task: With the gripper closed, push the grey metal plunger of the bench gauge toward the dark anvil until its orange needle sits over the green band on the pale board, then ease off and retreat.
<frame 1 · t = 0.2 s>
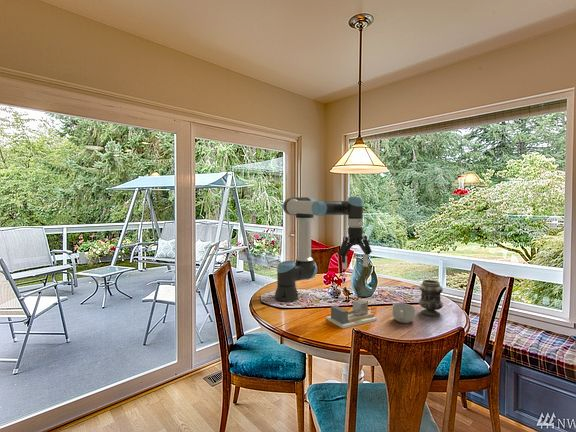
hand: (355, 267, 159), 27 cm above the table, fingers open, 13 cm apart
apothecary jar: (430, 313, 169), on the table
teacup: (402, 322, 158), on the table
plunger: (362, 309, 162), point 5 cm above the table, slide at 0.0 cm
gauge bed: (351, 319, 161), on the table
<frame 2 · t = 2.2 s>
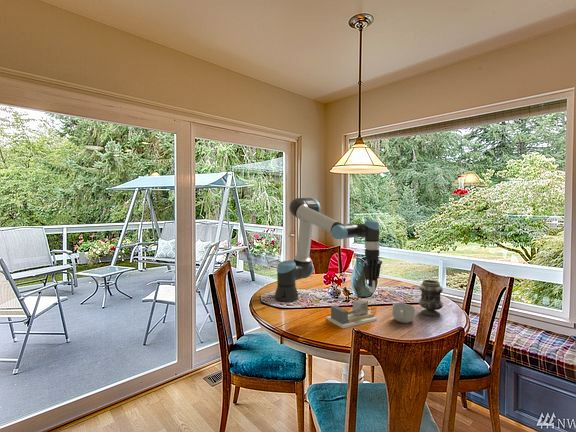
hand: (372, 292, 167), 13 cm above the table, fingers closed
nothing on the table moved.
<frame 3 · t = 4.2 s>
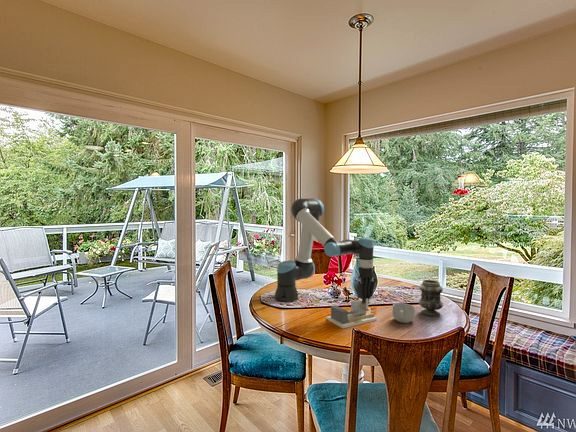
hand: (365, 310, 165), 3 cm above the table, fingers closed
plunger: (361, 309, 161), point 5 cm above the table, slide at 1.2 cm, touching gripper
everything else where it was.
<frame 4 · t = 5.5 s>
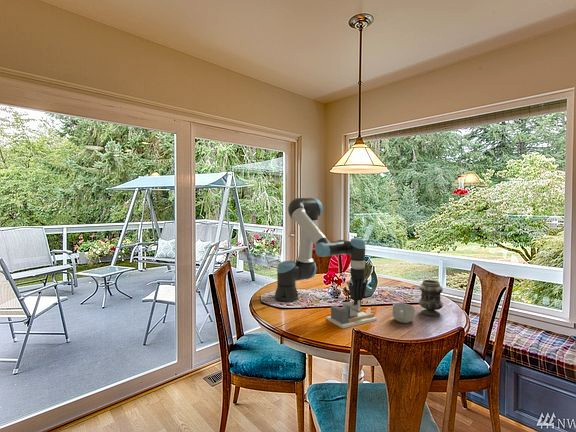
hand: (357, 311, 163), 3 cm above the table, fingers closed
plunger: (352, 311, 158), point 5 cm above the table, slide at 6.9 cm, touching gripper
everything else where it was.
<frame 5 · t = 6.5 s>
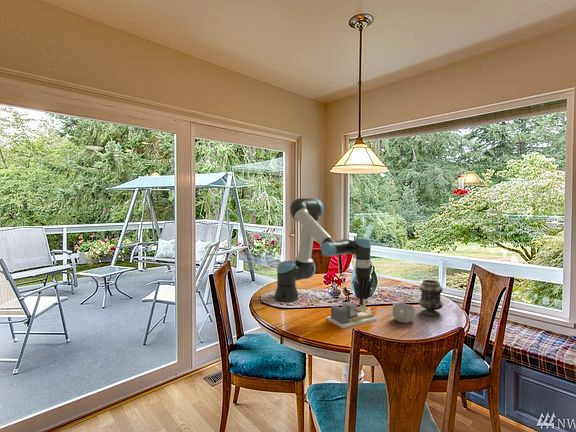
hand: (362, 310, 164), 4 cm above the table, fingers closed
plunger: (352, 311, 158), point 5 cm above the table, slide at 6.9 cm
everything else where it was.
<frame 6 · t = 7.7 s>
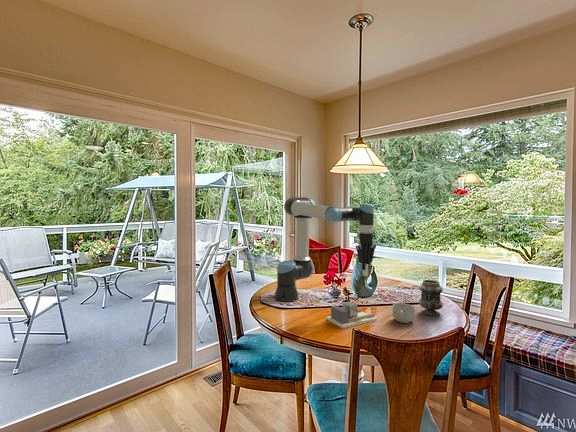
hand: (365, 275, 168), 21 cm above the table, fingers closed
nothing on the table moved.
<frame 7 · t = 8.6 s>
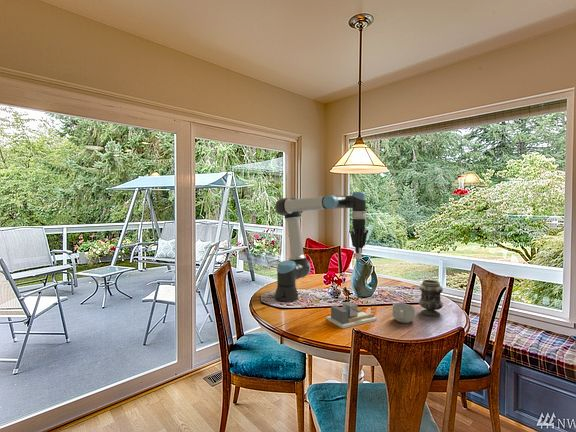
hand: (358, 258, 180), 28 cm above the table, fingers closed
nothing on the table moved.
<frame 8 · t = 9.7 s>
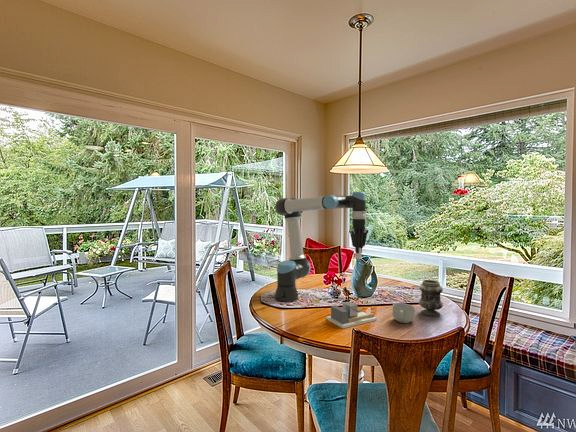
hand: (358, 258, 180), 28 cm above the table, fingers closed
nothing on the table moved.
at the end: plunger slide at 6.9 cm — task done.
